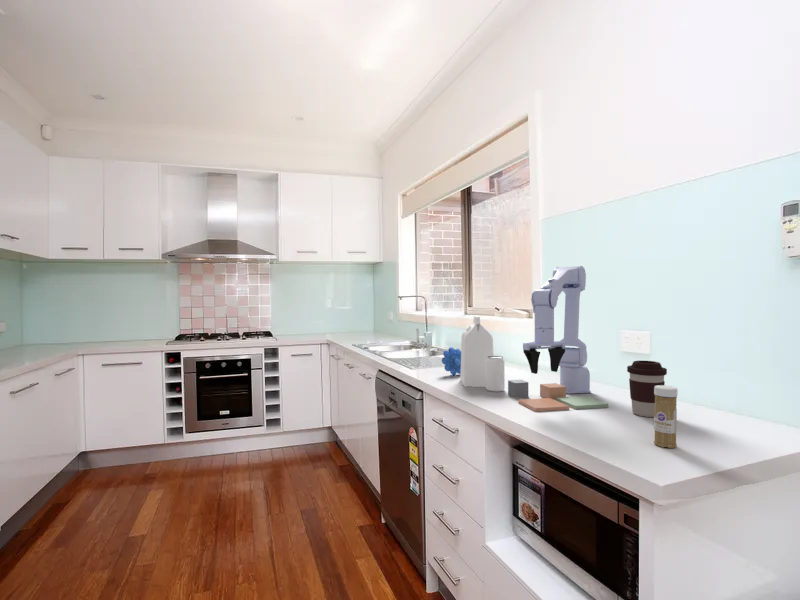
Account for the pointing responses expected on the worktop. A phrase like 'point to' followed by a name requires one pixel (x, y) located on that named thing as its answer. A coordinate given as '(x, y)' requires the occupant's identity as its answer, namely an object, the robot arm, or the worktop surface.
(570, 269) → the robot arm
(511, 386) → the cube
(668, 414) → the sprinkles bottle
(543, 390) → the block
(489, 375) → the can
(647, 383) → the coffee cup
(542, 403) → the terracotta pad
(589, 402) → the sage pad
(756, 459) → the worktop surface
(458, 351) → the grapes
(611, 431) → the worktop surface
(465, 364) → the milk
